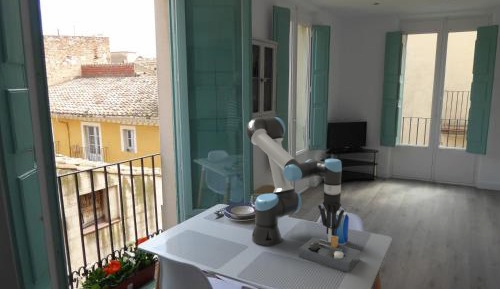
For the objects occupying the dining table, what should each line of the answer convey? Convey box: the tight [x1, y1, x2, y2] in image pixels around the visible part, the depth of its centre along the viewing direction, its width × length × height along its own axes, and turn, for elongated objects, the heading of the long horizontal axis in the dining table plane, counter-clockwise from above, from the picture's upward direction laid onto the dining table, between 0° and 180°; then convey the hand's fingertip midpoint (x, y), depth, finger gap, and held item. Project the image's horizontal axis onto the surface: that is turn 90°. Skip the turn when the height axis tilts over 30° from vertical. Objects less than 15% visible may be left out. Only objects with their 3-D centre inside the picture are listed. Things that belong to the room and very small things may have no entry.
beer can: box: [330, 209, 350, 246], centre depth 180 cm, size 8×8×16 cm
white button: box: [334, 251, 344, 259], centre depth 157 cm, size 4×4×4 cm
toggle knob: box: [331, 236, 339, 248], centre depth 165 cm, size 2×3×5 cm
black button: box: [310, 241, 319, 252], centre depth 164 cm, size 4×4×4 cm
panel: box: [298, 237, 361, 274], centre depth 164 cm, size 24×14×5 cm, turn 54°
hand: (330, 240), depth 166 cm, fingers closed
